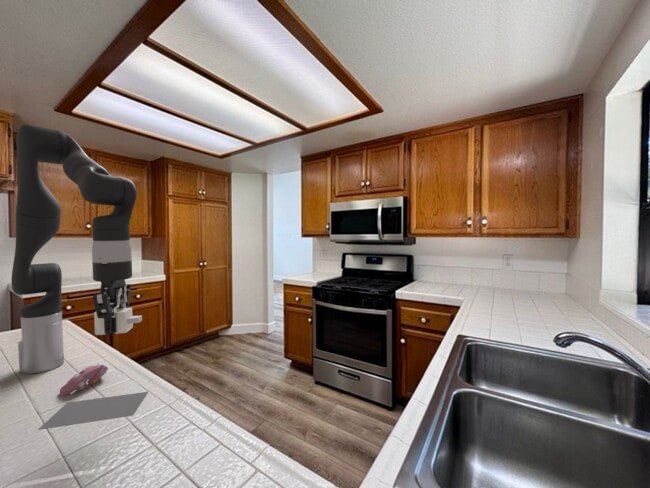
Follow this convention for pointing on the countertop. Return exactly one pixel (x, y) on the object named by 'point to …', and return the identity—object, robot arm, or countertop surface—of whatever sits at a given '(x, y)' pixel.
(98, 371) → the video game controller
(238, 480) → the countertop surface
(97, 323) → the plug block
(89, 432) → the countertop surface
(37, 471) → the countertop surface
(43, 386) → the countertop surface
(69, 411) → the rubber mat
